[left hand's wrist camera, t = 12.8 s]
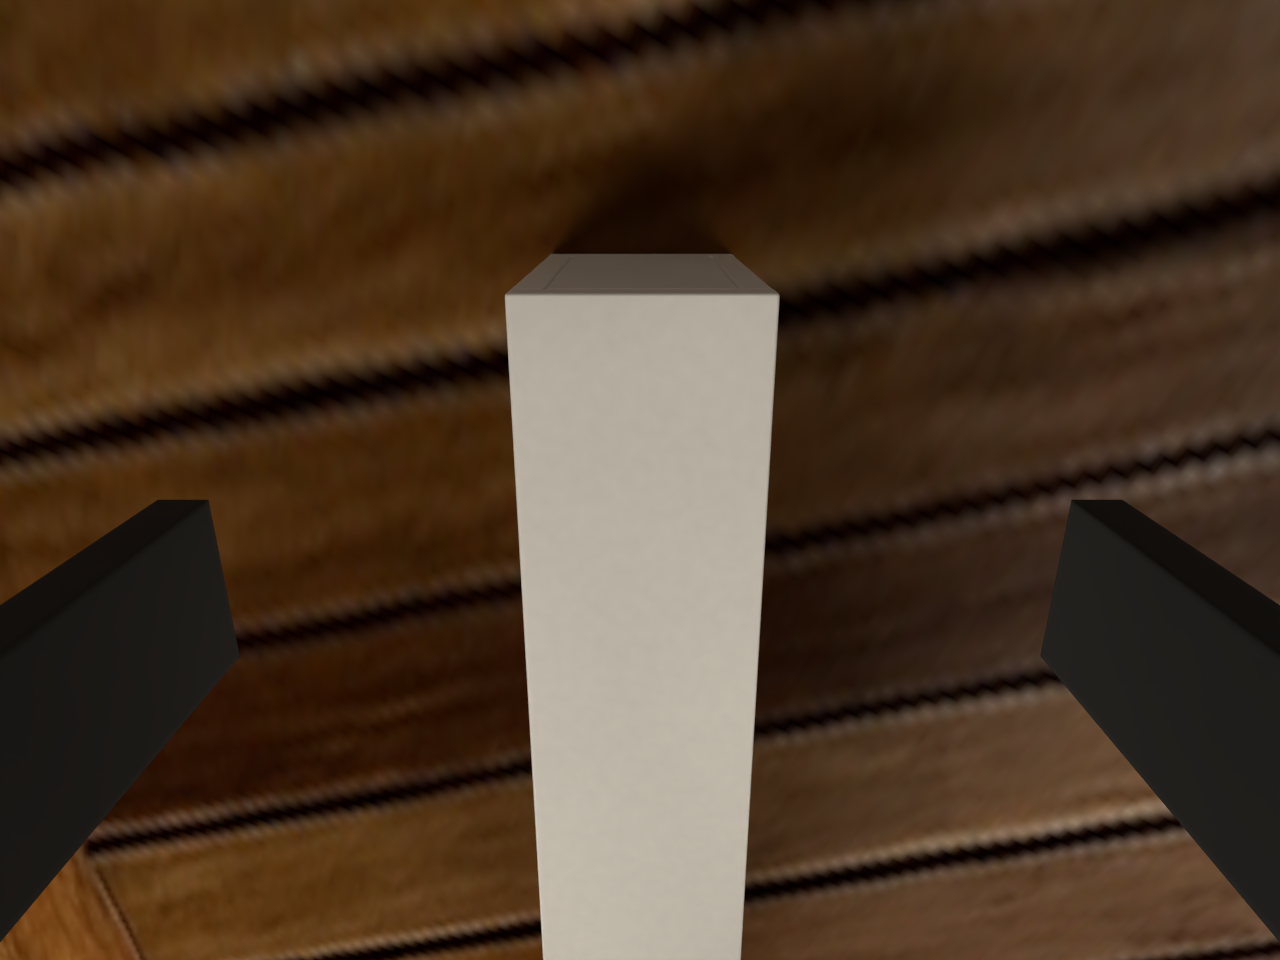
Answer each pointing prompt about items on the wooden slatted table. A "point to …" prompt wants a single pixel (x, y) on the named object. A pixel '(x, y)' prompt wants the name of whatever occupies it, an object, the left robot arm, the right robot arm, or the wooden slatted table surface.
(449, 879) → the wooden slatted table surface
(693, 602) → the cabinet
